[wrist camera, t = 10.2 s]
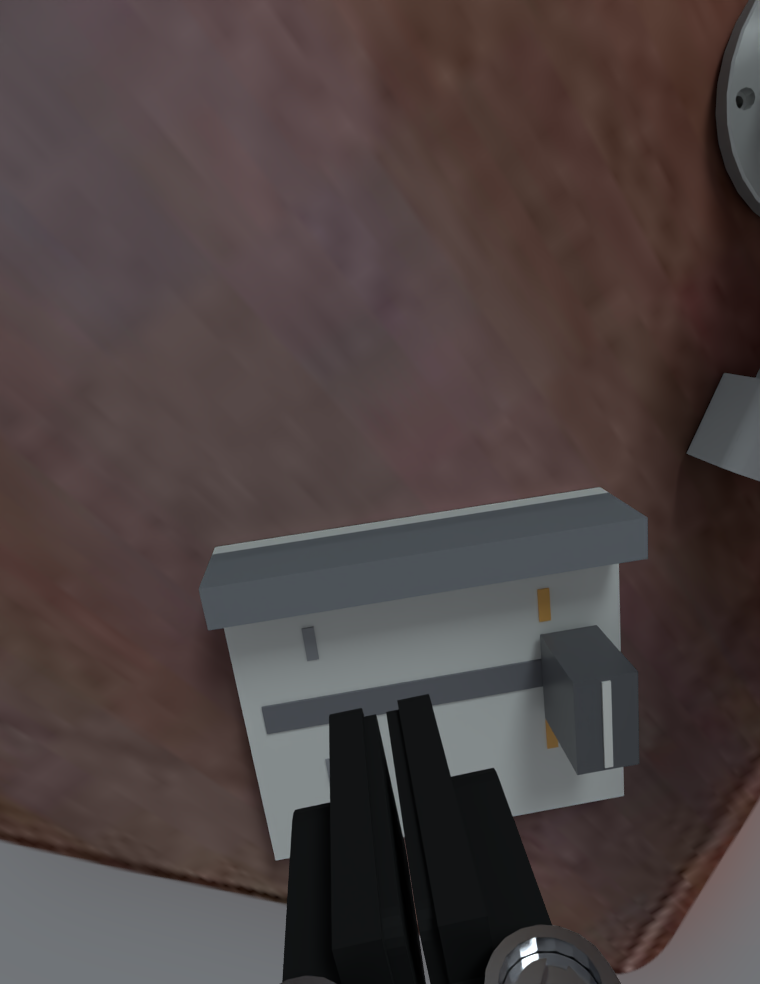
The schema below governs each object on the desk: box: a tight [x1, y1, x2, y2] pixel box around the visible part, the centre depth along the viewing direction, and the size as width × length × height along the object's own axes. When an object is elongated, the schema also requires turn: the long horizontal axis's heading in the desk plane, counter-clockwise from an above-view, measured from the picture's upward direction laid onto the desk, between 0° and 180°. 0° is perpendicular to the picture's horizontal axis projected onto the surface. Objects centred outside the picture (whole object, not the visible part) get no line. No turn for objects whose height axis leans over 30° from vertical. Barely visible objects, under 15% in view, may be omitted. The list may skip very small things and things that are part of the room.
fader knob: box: [540, 625, 639, 775], centre depth 32 cm, size 3×5×4 cm, turn 8°
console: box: [199, 487, 648, 860], centre depth 33 cm, size 20×18×5 cm
